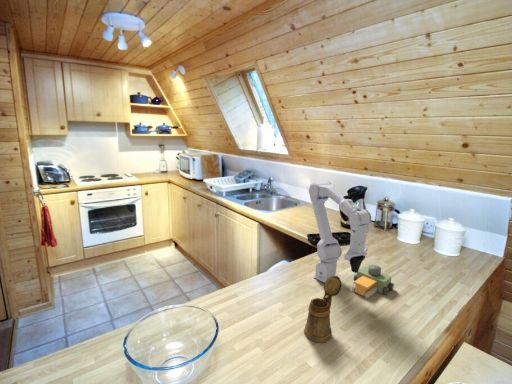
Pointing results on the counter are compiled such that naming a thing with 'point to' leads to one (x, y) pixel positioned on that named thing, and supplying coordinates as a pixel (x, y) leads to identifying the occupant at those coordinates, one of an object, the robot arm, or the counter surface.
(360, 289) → the orange slab
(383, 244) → the counter surface
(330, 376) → the counter surface
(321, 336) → the wooden mug
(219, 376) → the counter surface
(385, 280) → the mower housing
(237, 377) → the counter surface
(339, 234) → the egg carton
